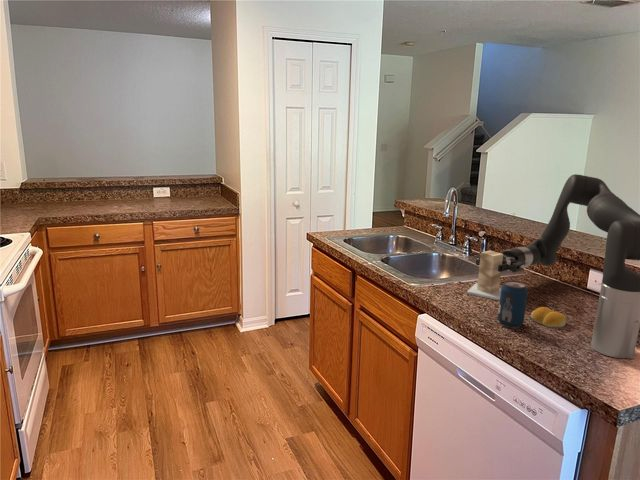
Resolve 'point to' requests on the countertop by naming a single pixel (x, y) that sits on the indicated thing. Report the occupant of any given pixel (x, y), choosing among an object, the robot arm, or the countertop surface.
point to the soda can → (512, 304)
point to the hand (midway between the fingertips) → (487, 265)
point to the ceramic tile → (484, 293)
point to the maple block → (489, 272)
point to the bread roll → (548, 317)
